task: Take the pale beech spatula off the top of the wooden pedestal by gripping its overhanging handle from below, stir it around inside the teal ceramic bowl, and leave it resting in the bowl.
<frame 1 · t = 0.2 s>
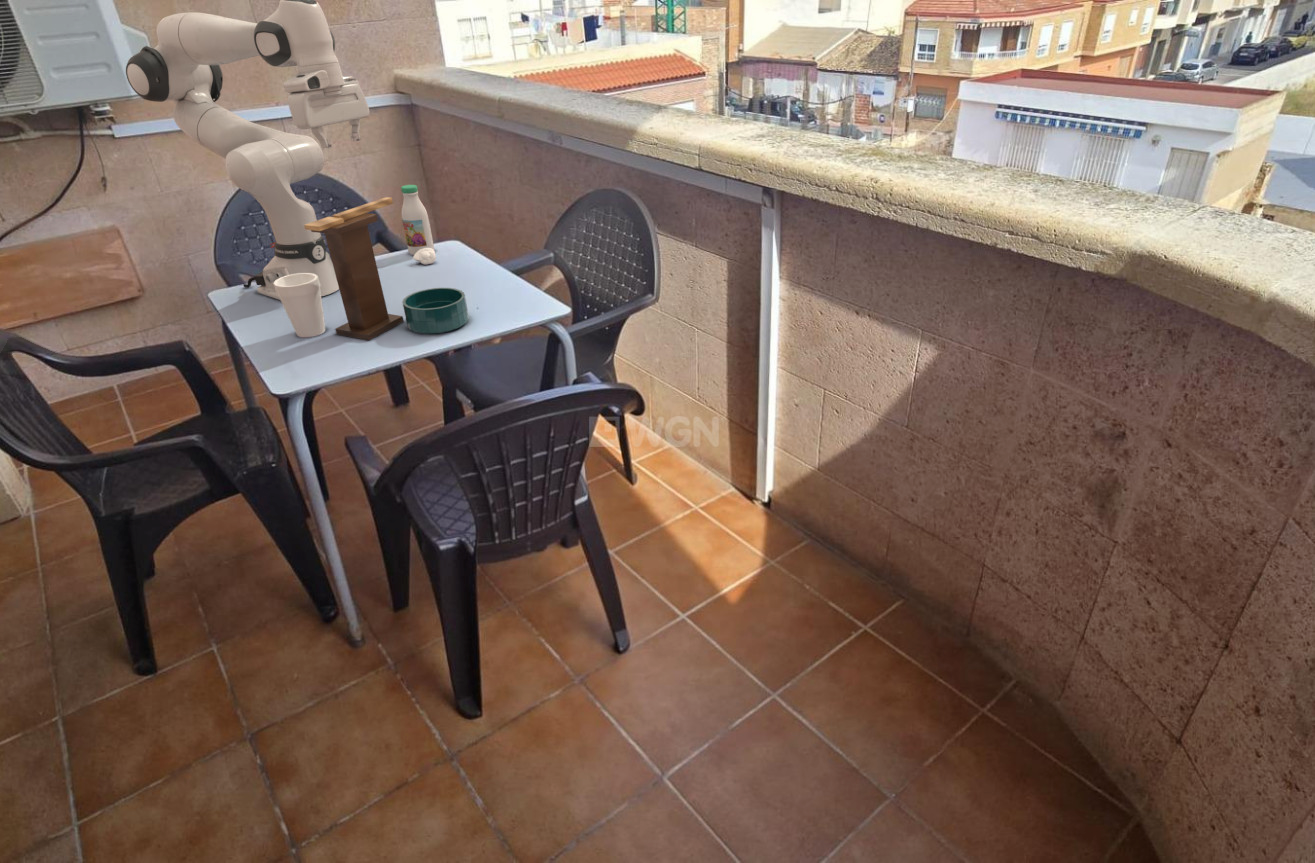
hand: (341, 144, 171), 39 cm above the table, tool pointing down, fingers open, 8 cm apart
wooden pedestal: (370, 328, 175), on the table
foam cup: (311, 332, 174), on the table
spatula: (353, 216, 164), point 26 cm above the table, touching wooden pedestal
milk bottle: (422, 252, 227), on the table
bowl: (438, 323, 177), on the table
white lumpy piece: (425, 263, 218), on the table
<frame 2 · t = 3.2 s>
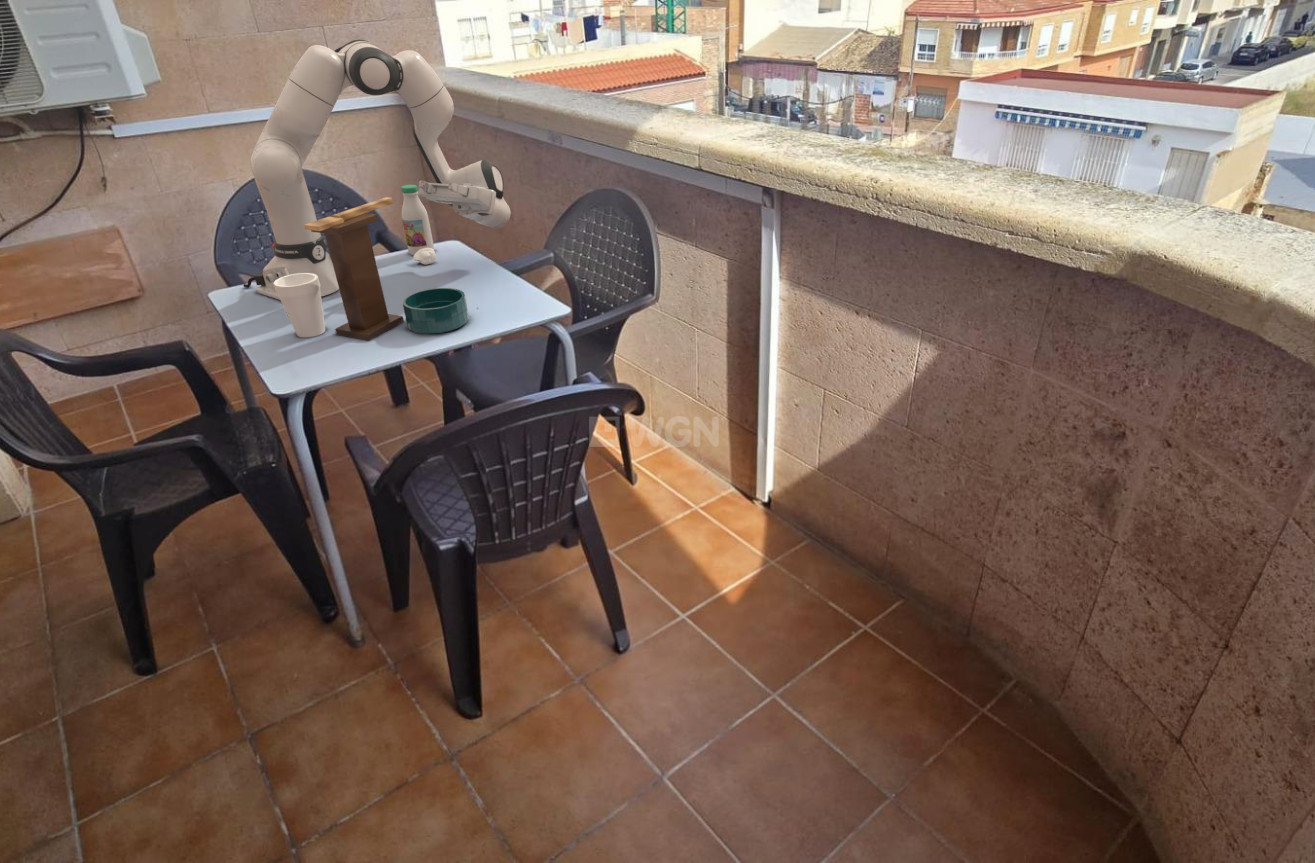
hand: (435, 184, 186), 27 cm above the table, tool pointing upward, fingers open, 8 cm apart
nothing on the table moved.
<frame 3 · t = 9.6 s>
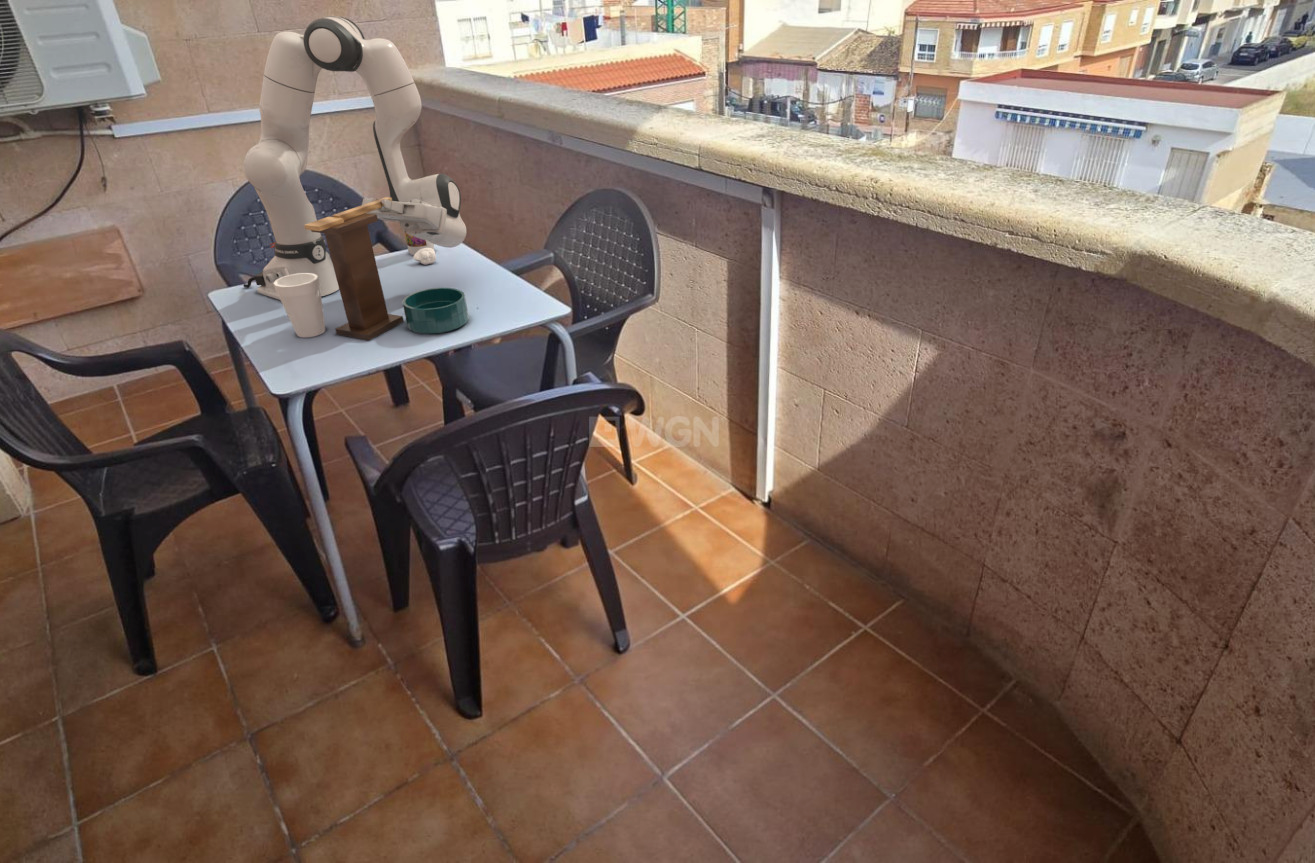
hand: (377, 202, 170), 27 cm above the table, tool pointing upward, fingers closed on spatula
spatula: (353, 216, 164), point 26 cm above the table, touching gripper, wooden pedestal
everything else where it was.
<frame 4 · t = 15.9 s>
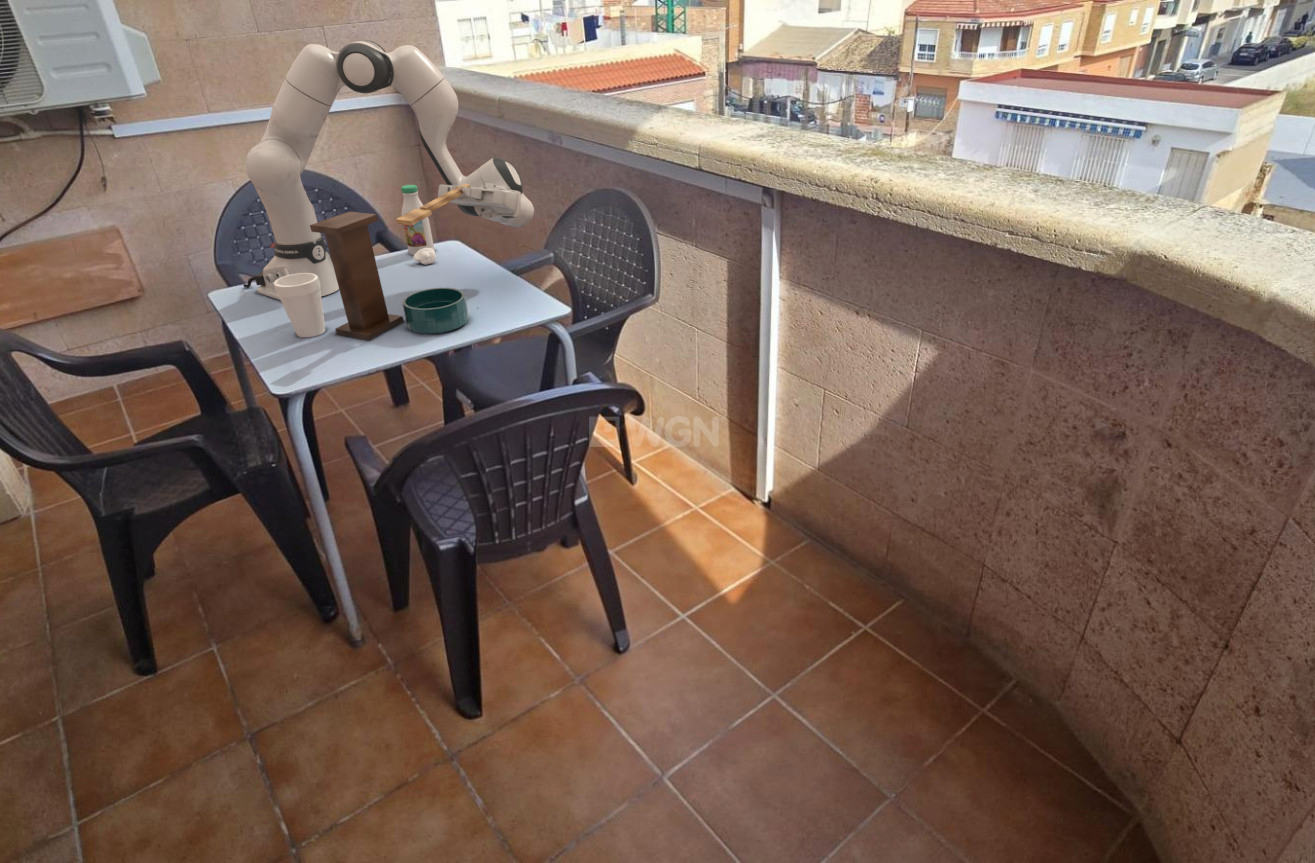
hand: (458, 189, 173), 28 cm above the table, tool pointing upward, fingers closed on spatula
spatula: (437, 206, 168), point 26 cm above the table, tilted 5°, touching gripper
everything else where it was.
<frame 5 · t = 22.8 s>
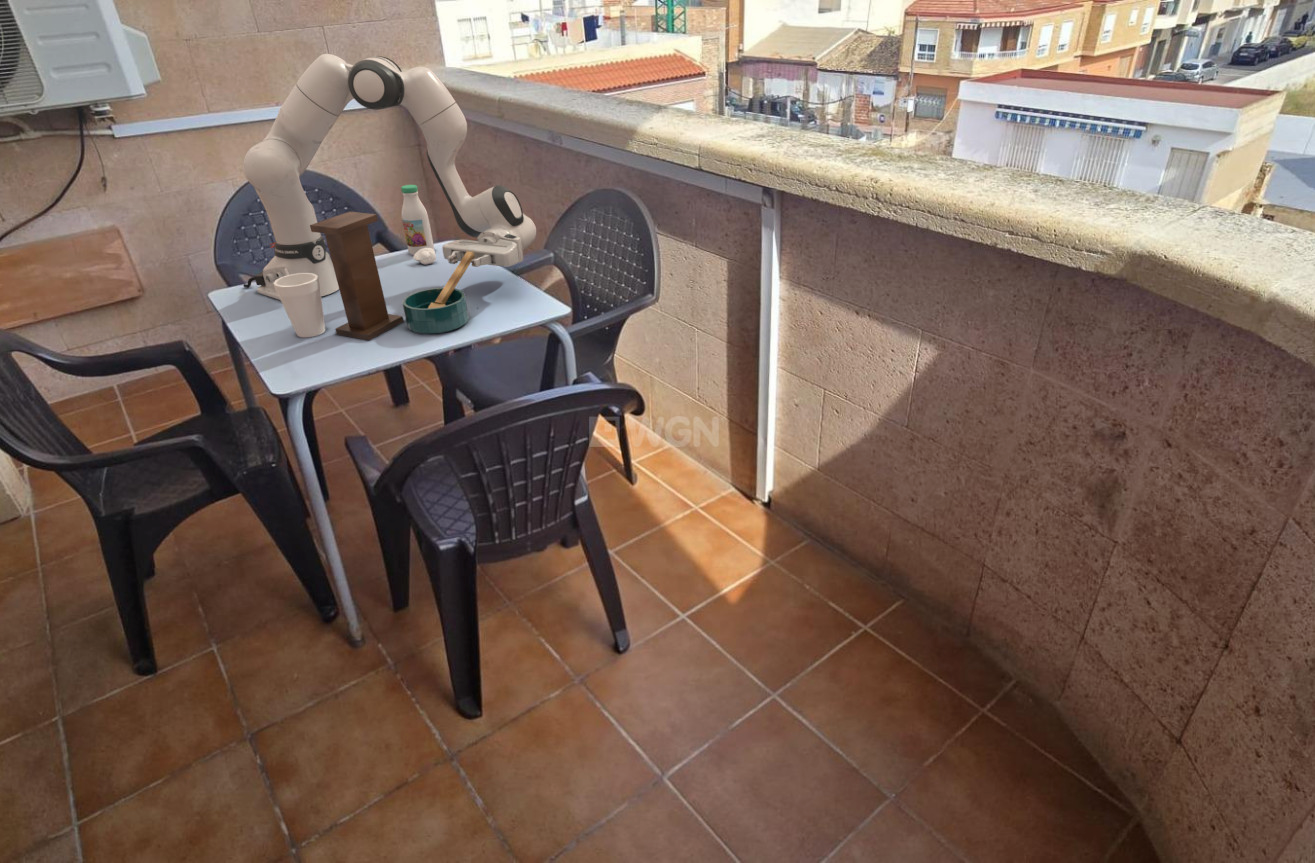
hand: (462, 262, 180), 11 cm above the table, tool horizontal, fingers open, 6 cm apart
spatula: (449, 290, 178), point 6 cm above the table, tilted 28°, touching bowl
everything else where it was.
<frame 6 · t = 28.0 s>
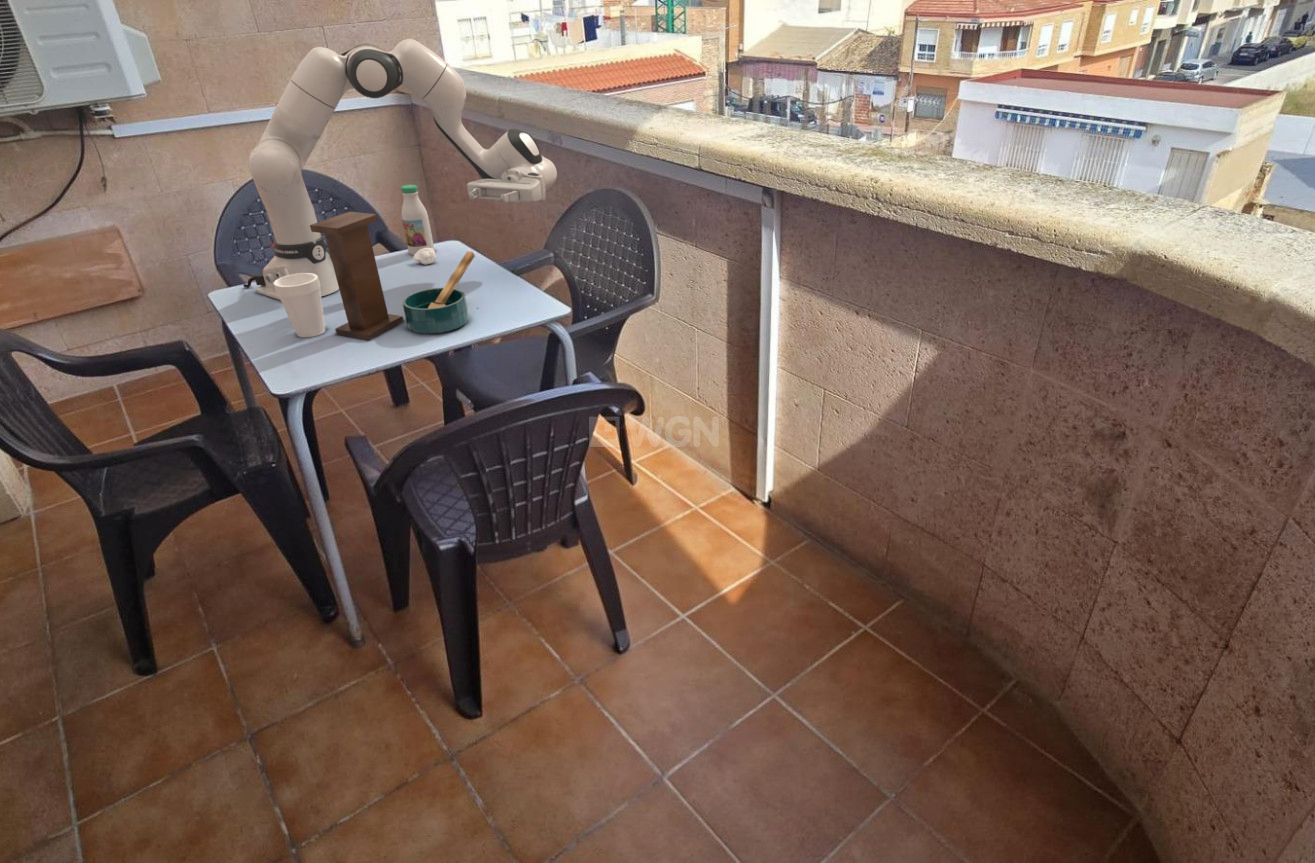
hand: (487, 197, 184), 24 cm above the table, tool horizontal, fingers open, 8 cm apart
nothing on the table moved.
at the end: spatula touching bowl; spatula 6.0 cm from the bowl (horizontally) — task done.
